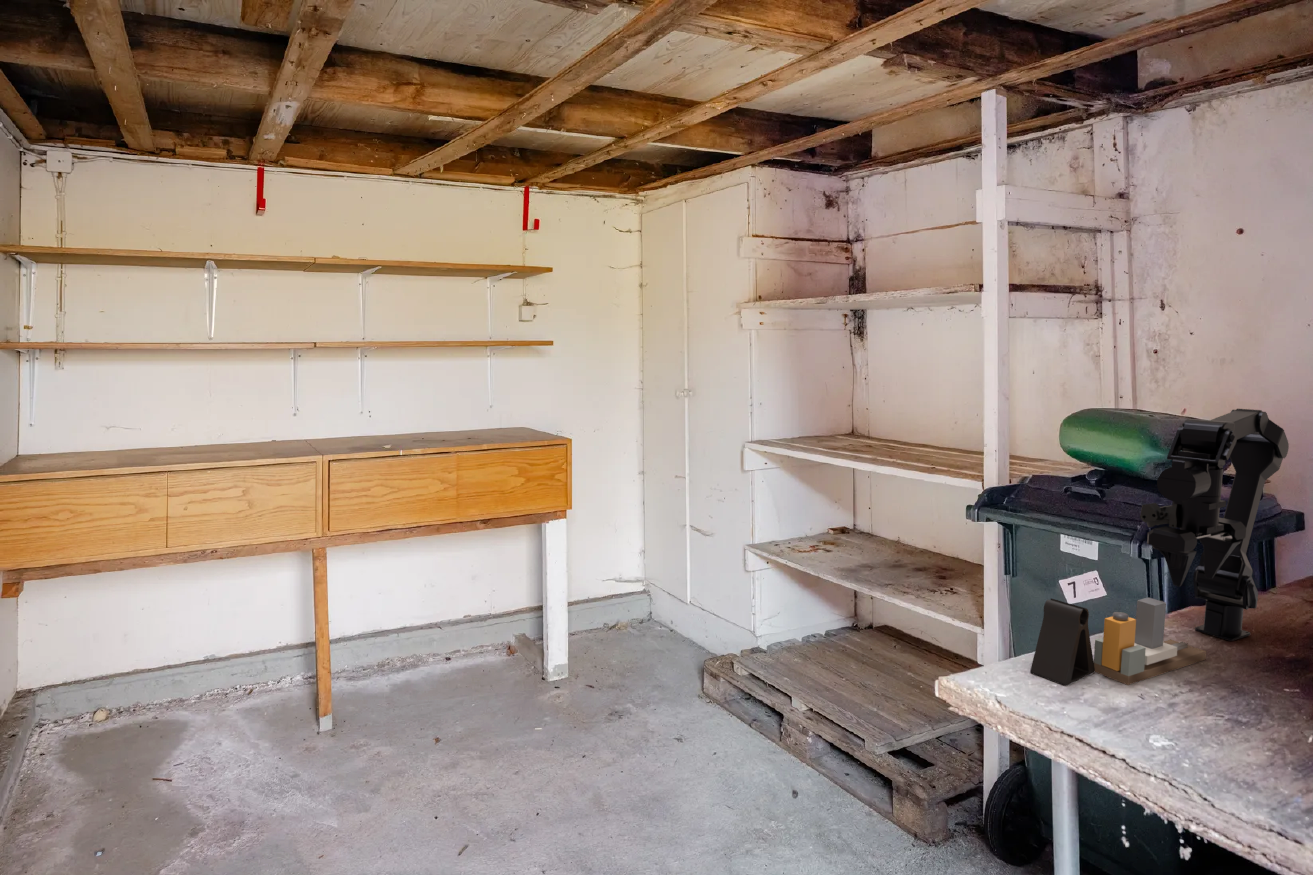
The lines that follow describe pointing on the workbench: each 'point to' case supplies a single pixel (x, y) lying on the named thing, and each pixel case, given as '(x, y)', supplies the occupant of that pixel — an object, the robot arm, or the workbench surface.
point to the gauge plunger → (1117, 638)
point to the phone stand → (1063, 644)
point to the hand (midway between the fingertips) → (1193, 581)
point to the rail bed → (1157, 664)
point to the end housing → (1124, 658)
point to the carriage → (1152, 630)
